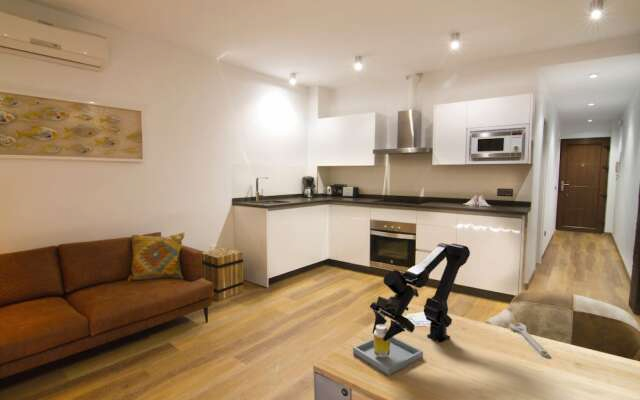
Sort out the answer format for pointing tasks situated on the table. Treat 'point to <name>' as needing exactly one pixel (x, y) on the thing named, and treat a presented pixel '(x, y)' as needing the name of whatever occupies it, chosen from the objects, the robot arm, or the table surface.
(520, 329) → the adjustable wrench
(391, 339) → the tray
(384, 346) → the supplement bottle
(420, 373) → the table surface
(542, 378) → the table surface
